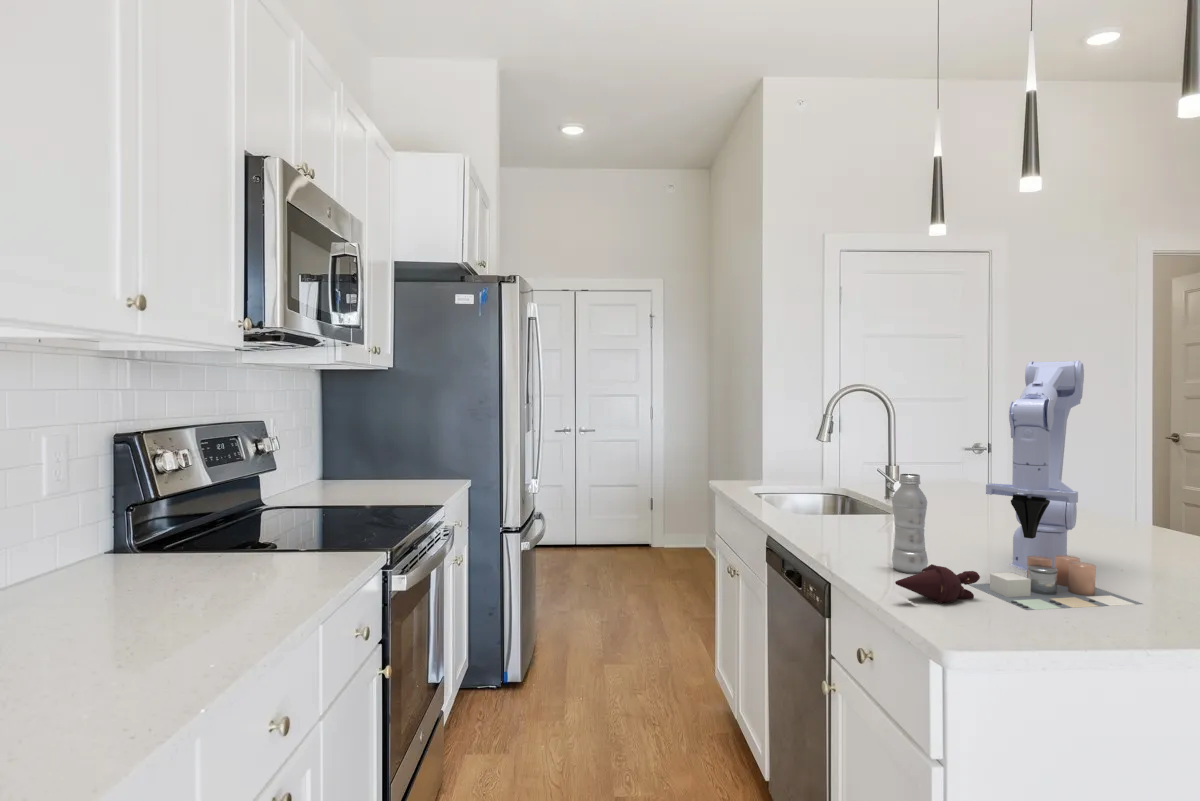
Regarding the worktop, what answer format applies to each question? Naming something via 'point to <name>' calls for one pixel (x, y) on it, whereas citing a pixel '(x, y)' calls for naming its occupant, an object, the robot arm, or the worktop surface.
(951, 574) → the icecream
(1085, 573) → the tan rounded cylinder
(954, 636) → the worktop surface
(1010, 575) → the white block
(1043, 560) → the tan rounded block
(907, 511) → the plastic bottle
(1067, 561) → the tan rounded block
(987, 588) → the board
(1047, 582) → the tin
